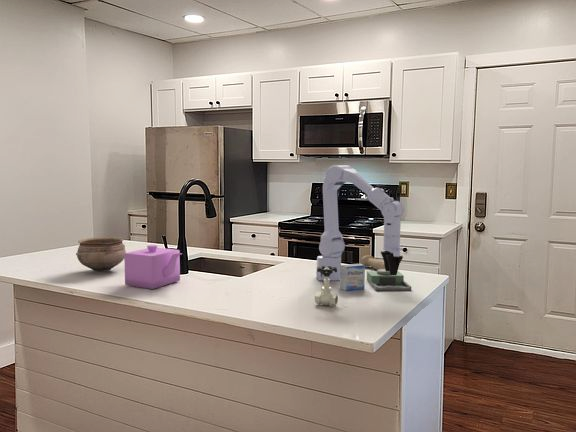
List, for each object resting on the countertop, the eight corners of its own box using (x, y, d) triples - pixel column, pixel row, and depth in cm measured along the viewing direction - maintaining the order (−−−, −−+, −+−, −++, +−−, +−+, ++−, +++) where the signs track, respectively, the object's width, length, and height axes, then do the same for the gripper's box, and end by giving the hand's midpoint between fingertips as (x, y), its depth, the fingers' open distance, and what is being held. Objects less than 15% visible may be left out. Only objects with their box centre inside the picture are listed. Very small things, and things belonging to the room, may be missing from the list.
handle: (395, 262, 210) (372, 254, 223) (382, 264, 207) (360, 256, 220) (394, 273, 211) (372, 265, 224) (382, 275, 208) (360, 267, 221)
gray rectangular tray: (375, 291, 179) (375, 286, 179) (370, 285, 188) (370, 281, 188) (411, 290, 180) (411, 286, 180) (404, 285, 188) (404, 281, 188)
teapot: (168, 291, 177) (168, 251, 176) (115, 283, 188) (114, 245, 187) (195, 282, 191) (194, 245, 189) (143, 275, 202) (143, 240, 200)
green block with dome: (371, 285, 188) (371, 273, 187) (366, 280, 196) (366, 268, 195) (403, 285, 189) (403, 273, 188) (397, 280, 197) (397, 268, 196)
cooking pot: (107, 262, 227) (107, 235, 226) (140, 266, 219) (140, 238, 218) (60, 273, 205) (59, 242, 204) (95, 277, 197) (94, 246, 195)
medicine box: (345, 291, 179) (346, 266, 178) (339, 288, 183) (339, 264, 182) (364, 289, 182) (365, 265, 181) (358, 286, 186) (358, 262, 185)
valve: (320, 301, 165) (320, 265, 164) (339, 304, 163) (340, 266, 162) (312, 306, 159) (313, 268, 158) (332, 309, 157) (333, 270, 156)
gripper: (408, 238, 175) (407, 277, 176) (397, 232, 189) (396, 268, 191) (388, 238, 175) (387, 277, 176) (378, 232, 189) (377, 268, 190)
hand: (390, 272), depth 183 cm, fingers open, 6 cm apart
